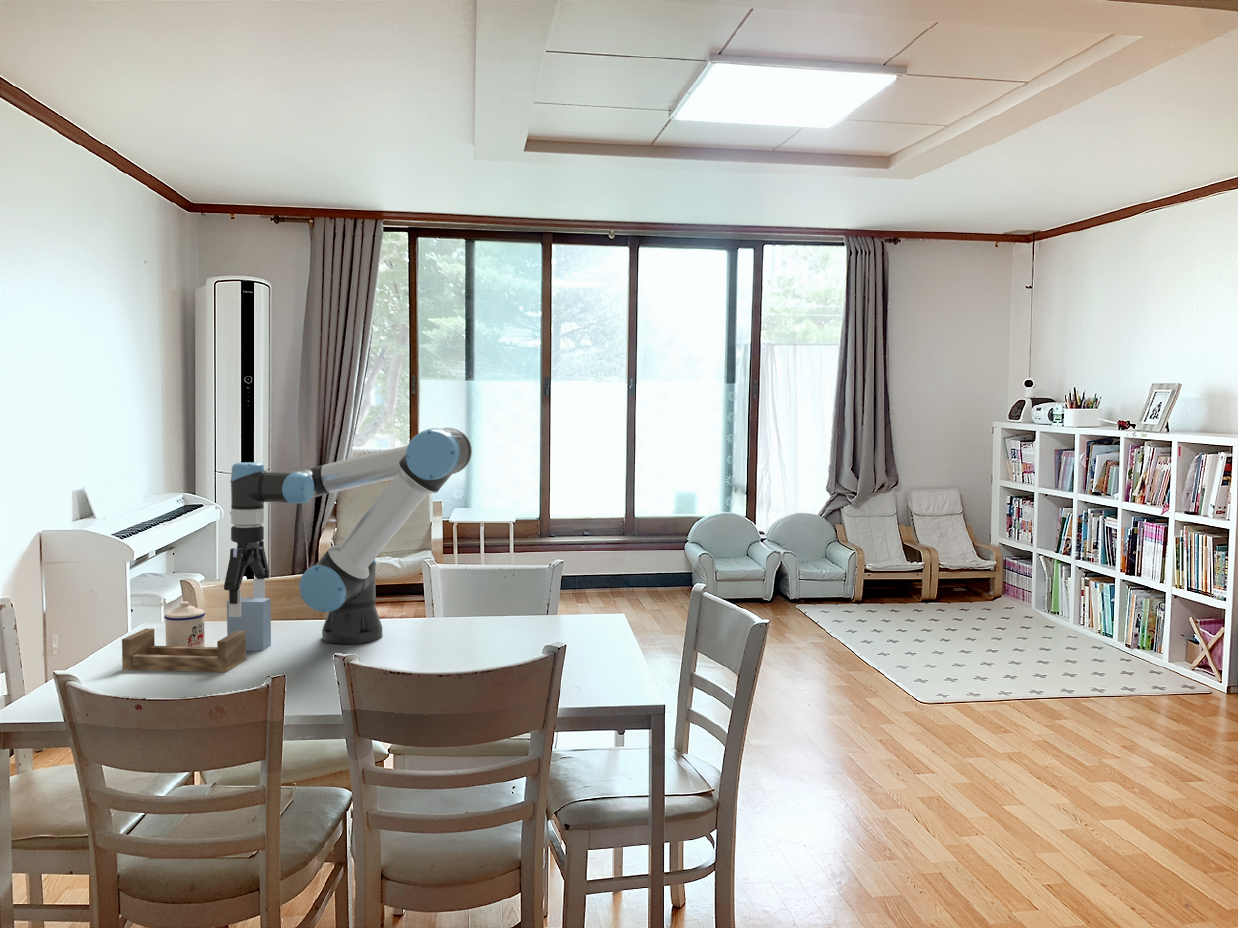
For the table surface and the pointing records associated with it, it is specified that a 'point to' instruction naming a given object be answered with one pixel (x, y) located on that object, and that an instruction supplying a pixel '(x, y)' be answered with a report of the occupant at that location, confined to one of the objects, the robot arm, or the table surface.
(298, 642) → the table surface
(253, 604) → the blue box with knob
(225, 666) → the track
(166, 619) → the teacup with lid
